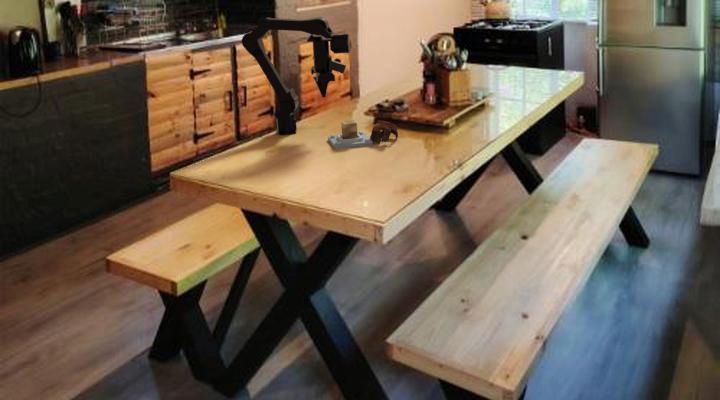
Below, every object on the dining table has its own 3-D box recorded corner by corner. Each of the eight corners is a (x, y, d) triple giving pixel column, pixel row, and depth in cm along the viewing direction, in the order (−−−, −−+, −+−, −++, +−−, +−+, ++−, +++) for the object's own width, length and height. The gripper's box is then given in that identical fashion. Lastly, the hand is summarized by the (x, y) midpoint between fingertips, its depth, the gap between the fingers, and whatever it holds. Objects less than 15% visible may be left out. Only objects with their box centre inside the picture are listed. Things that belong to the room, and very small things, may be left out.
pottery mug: (364, 141, 264) (372, 119, 264) (389, 150, 266) (397, 128, 266) (373, 140, 252) (381, 117, 252) (398, 150, 255) (406, 127, 255)
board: (335, 149, 254) (335, 143, 253) (328, 140, 266) (327, 133, 265) (372, 145, 256) (372, 138, 256) (363, 136, 268) (363, 130, 268)
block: (345, 141, 258) (344, 124, 256) (342, 138, 262) (341, 121, 260) (357, 140, 259) (356, 123, 257) (354, 136, 263) (353, 120, 261)
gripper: (348, 56, 260) (350, 100, 266) (339, 48, 278) (341, 90, 283) (316, 58, 258) (319, 103, 264) (309, 50, 276) (311, 92, 281)
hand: (323, 97), depth 273 cm, fingers closed
